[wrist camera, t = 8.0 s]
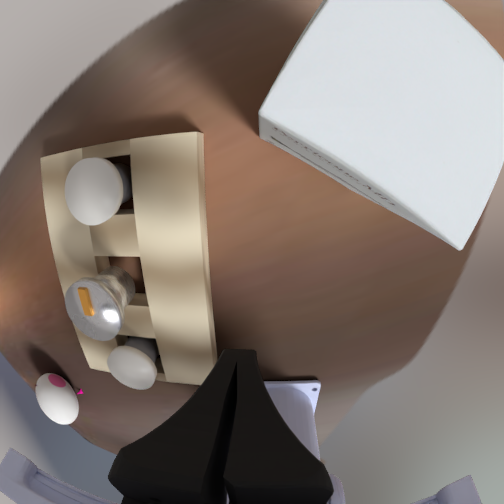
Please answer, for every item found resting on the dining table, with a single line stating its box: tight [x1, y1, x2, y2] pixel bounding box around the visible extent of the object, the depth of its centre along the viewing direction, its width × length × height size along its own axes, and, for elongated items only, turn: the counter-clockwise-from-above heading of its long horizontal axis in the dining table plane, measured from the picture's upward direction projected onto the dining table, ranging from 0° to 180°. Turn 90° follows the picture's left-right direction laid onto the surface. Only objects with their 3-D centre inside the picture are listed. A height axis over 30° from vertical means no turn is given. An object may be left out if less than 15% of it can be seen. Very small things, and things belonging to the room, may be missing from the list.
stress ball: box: [35, 373, 83, 424], centre depth 26 cm, size 8×8×7 cm
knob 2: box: [107, 336, 159, 389], centre depth 21 cm, size 4×4×4 cm
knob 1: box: [65, 157, 133, 225], centre depth 17 cm, size 4×4×4 cm
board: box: [40, 132, 218, 385], centre depth 20 cm, size 20×13×2 cm, turn 1°
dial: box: [65, 266, 135, 341], centre depth 17 cm, size 4×4×4 cm
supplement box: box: [258, 0, 504, 250], centre depth 11 cm, size 7×7×13 cm
